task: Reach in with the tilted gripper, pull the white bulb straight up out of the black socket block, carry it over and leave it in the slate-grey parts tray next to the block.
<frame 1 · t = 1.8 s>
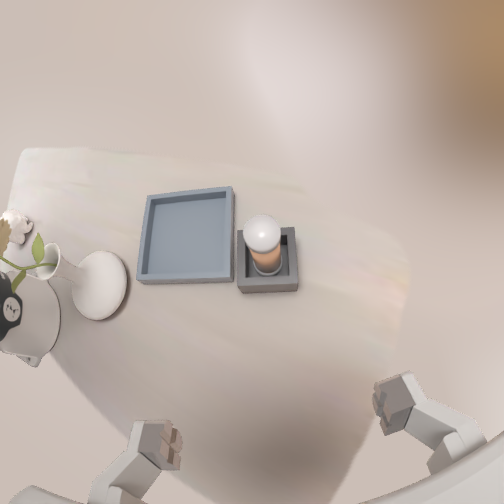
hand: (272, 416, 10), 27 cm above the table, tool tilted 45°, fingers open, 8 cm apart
socket block: (268, 266, 40), on the table
white lumpy oval piece: (23, 229, 50), on the table
flower in vase: (100, 290, 42), on the table
white bulb: (268, 264, 39), point 1 cm above the table, touching socket block
parts tray: (188, 238, 43), on the table
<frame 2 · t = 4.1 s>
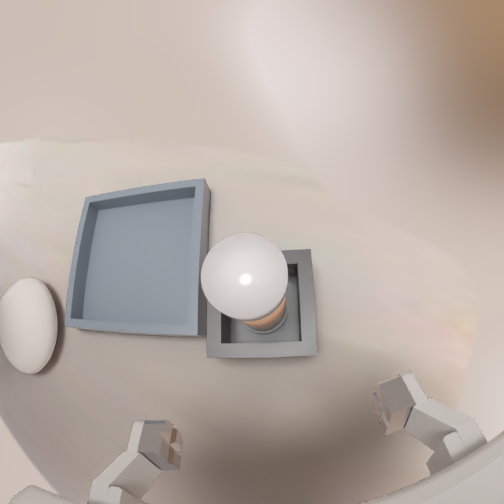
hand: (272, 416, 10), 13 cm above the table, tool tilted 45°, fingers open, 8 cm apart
socket block: (264, 312, 24), on the table
flower in vase: (33, 331, 26), on the table
white bulb: (264, 310, 23), point 1 cm above the table, touching socket block
parts tray: (139, 262, 27), on the table
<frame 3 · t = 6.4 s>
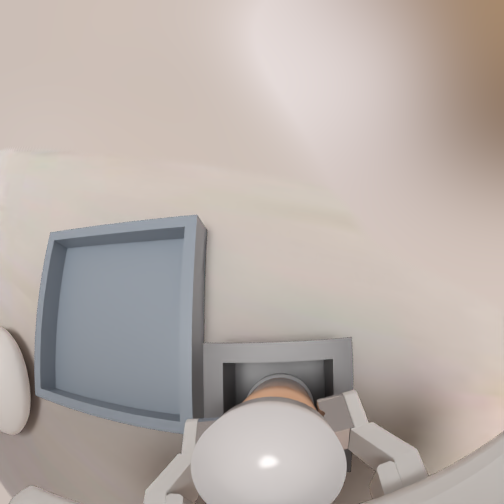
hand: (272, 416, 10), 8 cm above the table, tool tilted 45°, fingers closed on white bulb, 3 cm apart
socket block: (280, 400, 16), on the table
flower in vase: (8, 384, 19), on the table
white bulb: (280, 402, 15), point 1 cm above the table, touching gripper, socket block
parts tray: (116, 323, 19), on the table
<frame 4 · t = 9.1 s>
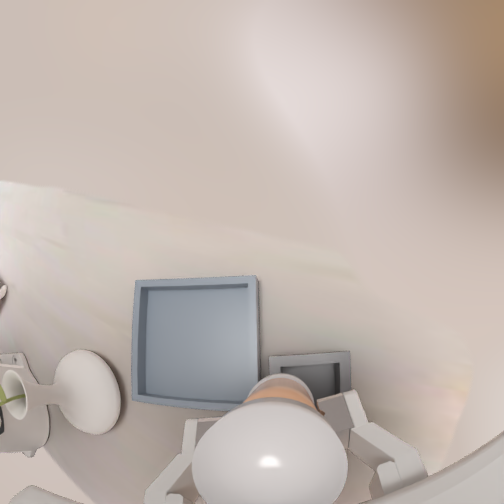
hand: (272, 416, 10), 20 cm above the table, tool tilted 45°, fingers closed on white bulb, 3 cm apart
socket block: (308, 387, 27), on the table
flower in vase: (90, 394, 30), on the table
white bulb: (280, 402, 15), point 13 cm above the table, touching gripper
parts tray: (196, 344, 30), on the table
when the fingers open (9 cm above the table, at t = 11.9 s): white bulb drops 2 cm, resting on parts tray.
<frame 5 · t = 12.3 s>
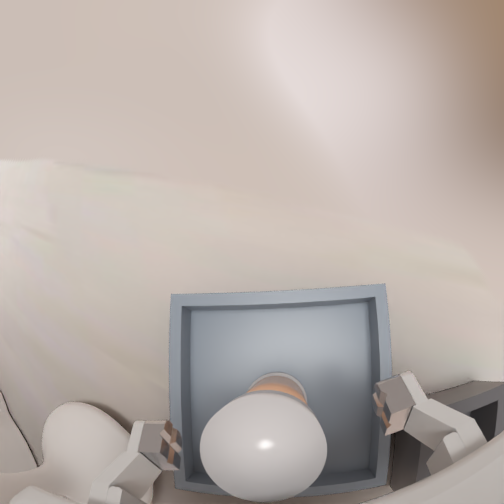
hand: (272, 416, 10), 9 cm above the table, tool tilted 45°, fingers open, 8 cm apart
socket block: (436, 435, 15), on the table
flower in vase: (99, 462, 17), on the table
white bulb: (276, 398, 17), point 1 cm above the table, touching parts tray
parts tray: (281, 397, 18), on the table
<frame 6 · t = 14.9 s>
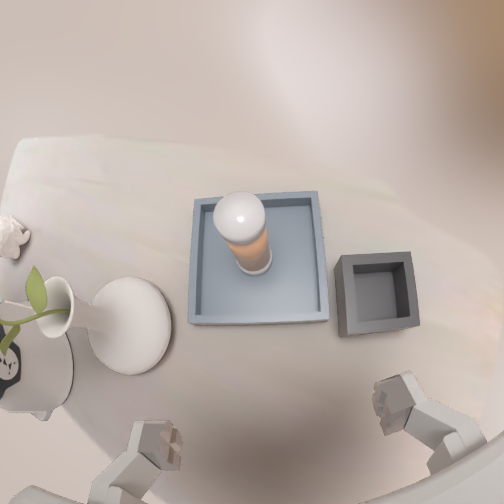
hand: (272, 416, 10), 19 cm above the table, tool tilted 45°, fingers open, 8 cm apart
socket block: (369, 299, 29), on the table
white lumpy oval piece: (18, 238, 39), on the table
flower in vase: (129, 330, 31), on the table
white bulb: (255, 259, 31), point 1 cm above the table, touching parts tray
parts tray: (258, 260, 32), on the table
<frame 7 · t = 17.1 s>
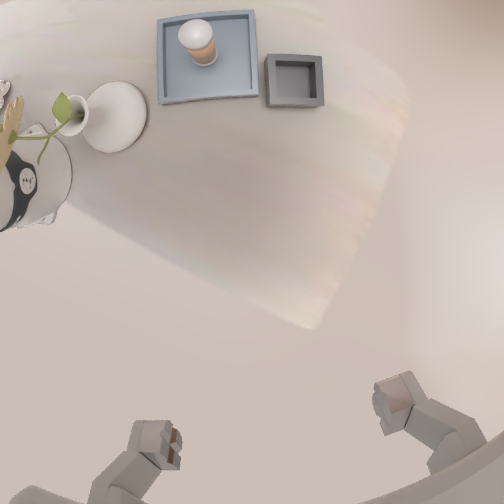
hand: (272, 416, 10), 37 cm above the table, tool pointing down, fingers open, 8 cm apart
socket block: (290, 83, 37), on the table
flower in vase: (113, 120, 37), on the table
white bulb: (205, 56, 34), point 1 cm above the table, touching parts tray
parts tray: (207, 56, 34), on the table
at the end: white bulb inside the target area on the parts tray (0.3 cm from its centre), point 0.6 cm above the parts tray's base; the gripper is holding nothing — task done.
